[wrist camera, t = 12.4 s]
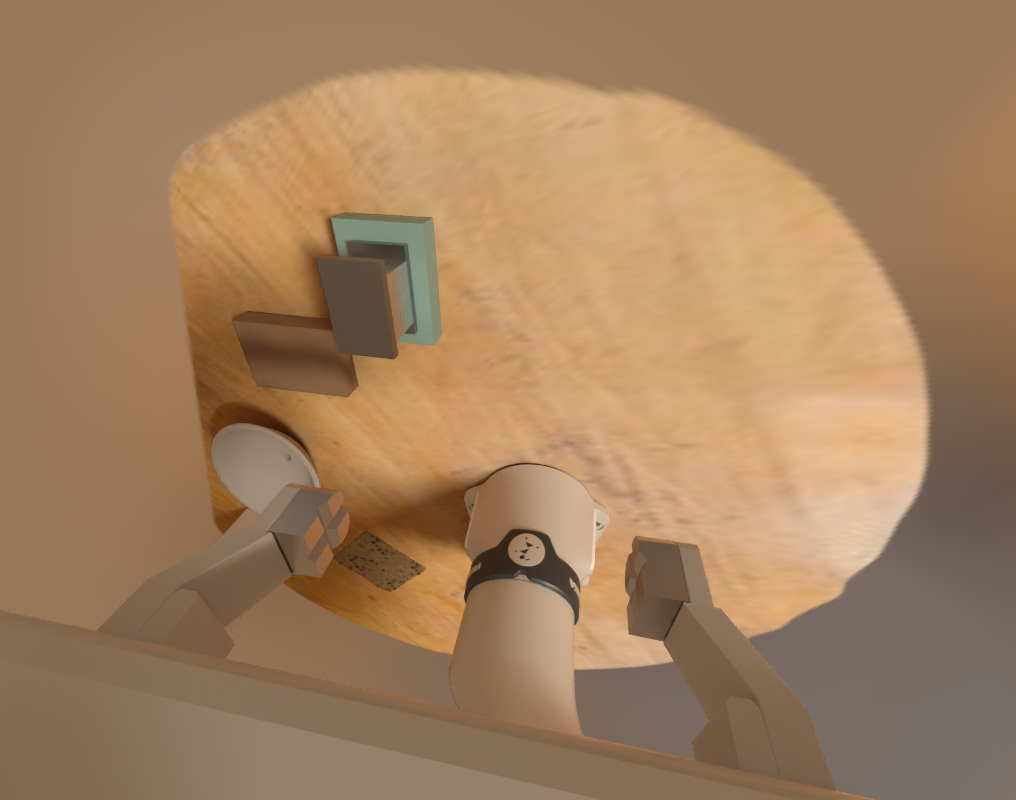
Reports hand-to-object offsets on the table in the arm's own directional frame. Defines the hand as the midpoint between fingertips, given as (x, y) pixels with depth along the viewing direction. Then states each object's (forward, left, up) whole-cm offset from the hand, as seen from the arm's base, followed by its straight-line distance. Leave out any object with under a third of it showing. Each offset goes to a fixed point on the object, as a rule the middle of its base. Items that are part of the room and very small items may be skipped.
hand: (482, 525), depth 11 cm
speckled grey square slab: (-52, +25, -30) cm, 65 cm away
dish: (-29, +34, -29) cm, 53 cm away
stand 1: (-13, +27, -29) cm, 42 cm away
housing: (-4, +15, -27) cm, 31 cm away
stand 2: (-4, +15, -29) cm, 33 cm away
